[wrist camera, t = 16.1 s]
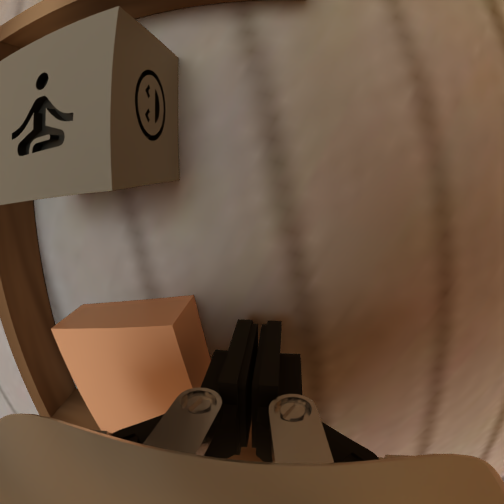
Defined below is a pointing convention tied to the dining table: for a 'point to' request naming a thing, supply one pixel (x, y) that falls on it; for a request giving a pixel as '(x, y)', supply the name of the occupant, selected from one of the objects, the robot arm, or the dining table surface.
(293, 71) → the dining table surface
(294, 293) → the dining table surface
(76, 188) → the dice cube
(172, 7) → the box
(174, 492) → the robot arm
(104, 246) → the dining table surface
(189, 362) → the terracotta tile
